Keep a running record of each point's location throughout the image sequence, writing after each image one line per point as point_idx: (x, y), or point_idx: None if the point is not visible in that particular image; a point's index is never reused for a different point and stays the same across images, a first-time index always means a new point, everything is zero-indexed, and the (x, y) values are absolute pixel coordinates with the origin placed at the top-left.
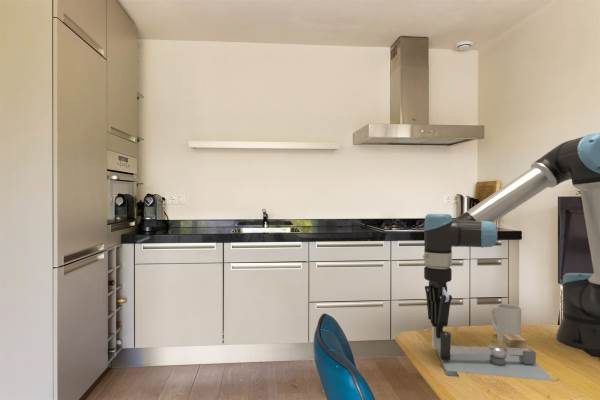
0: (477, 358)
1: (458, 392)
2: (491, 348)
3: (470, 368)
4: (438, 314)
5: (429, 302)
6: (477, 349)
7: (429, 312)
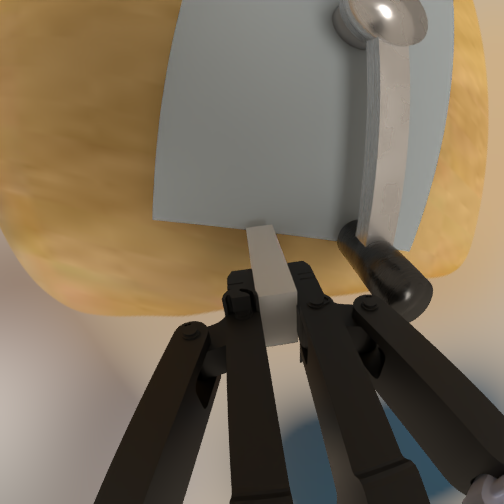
0: (321, 78)
1: (466, 244)
2: (411, 44)
3: (408, 162)
4: (389, 404)
5: (186, 475)
6: (409, 112)
7: (210, 407)
